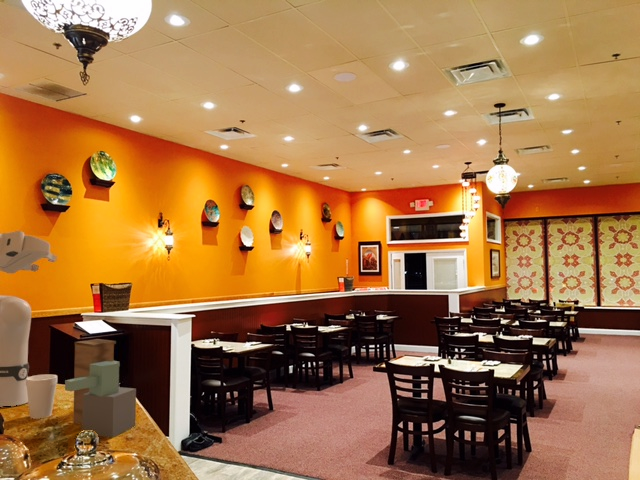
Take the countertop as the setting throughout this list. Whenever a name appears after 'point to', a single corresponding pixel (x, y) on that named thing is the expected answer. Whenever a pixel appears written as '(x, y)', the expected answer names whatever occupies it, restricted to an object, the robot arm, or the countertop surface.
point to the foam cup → (41, 395)
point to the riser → (109, 412)
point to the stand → (88, 366)
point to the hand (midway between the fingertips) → (46, 264)
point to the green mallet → (98, 379)
